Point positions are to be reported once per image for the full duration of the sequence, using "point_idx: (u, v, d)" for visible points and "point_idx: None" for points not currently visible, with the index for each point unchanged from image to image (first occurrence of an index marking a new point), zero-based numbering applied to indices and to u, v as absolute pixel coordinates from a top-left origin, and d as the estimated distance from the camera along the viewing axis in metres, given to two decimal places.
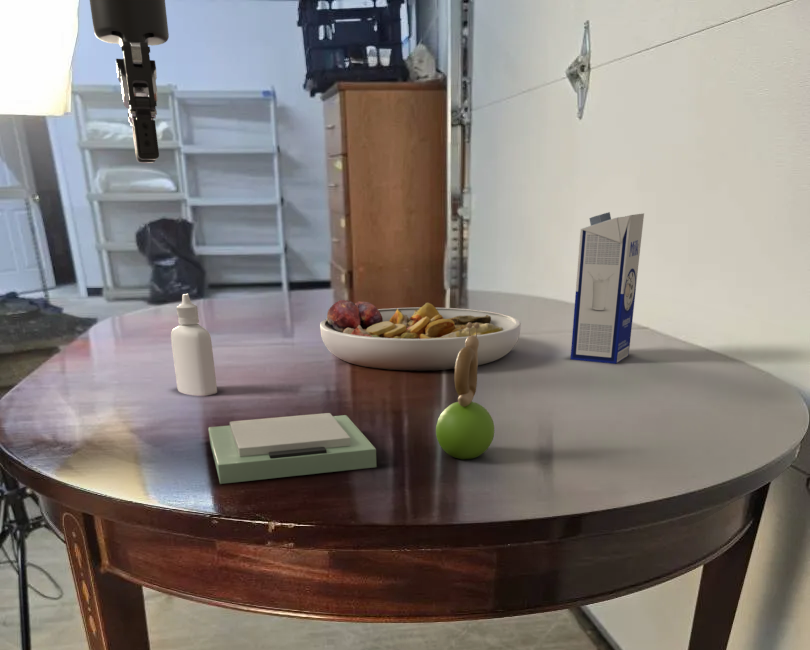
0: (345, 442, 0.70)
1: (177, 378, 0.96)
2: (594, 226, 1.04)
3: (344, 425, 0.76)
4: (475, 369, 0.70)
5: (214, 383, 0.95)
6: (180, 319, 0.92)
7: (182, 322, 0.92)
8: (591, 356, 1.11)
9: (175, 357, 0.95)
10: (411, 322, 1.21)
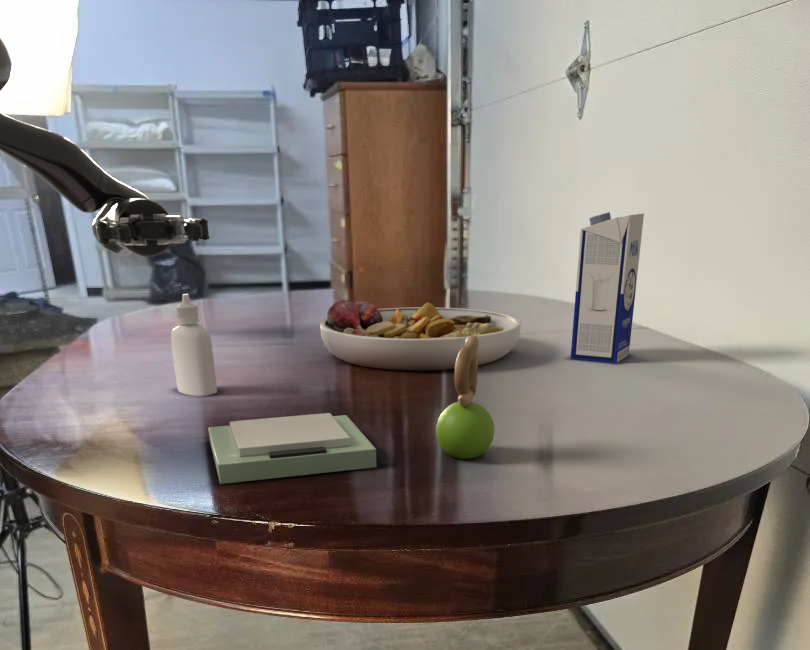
0: (345, 442, 0.70)
1: (177, 378, 0.96)
2: (594, 226, 1.04)
3: (344, 425, 0.76)
4: (475, 369, 0.70)
5: (214, 383, 0.95)
6: (180, 319, 0.92)
7: (182, 322, 0.92)
8: (591, 356, 1.11)
9: (175, 357, 0.95)
10: (411, 322, 1.21)
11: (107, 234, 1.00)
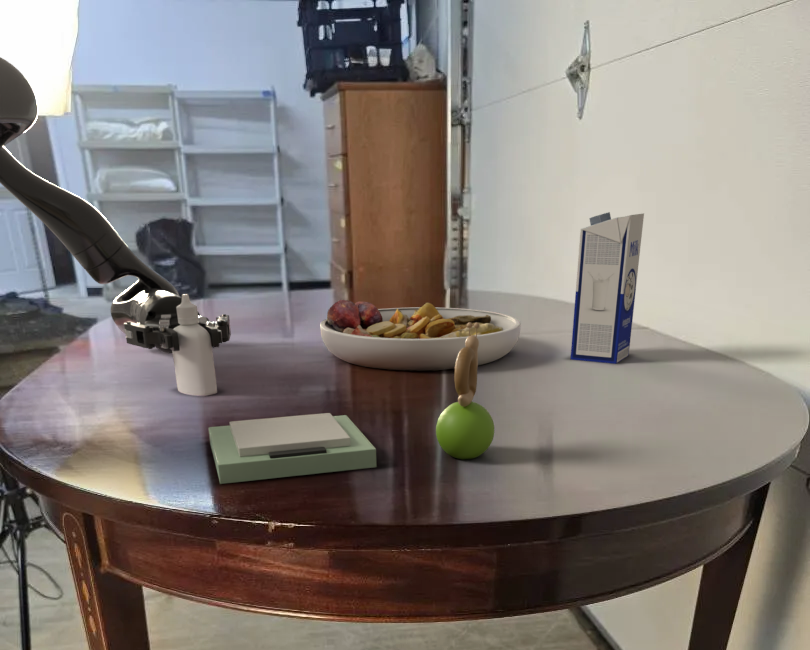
0: (345, 442, 0.70)
1: (177, 378, 0.96)
2: (594, 226, 1.04)
3: (344, 425, 0.76)
4: (475, 369, 0.70)
5: (214, 383, 0.95)
6: (180, 319, 0.92)
7: (182, 322, 0.92)
8: (591, 356, 1.11)
9: (175, 357, 0.95)
10: (411, 322, 1.21)
11: (153, 339, 0.94)
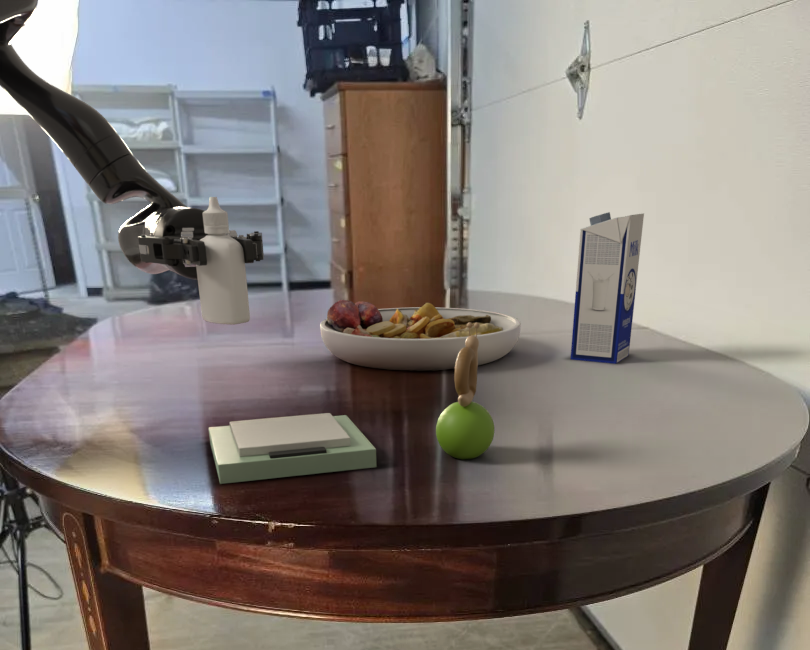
0: (345, 442, 0.70)
1: (202, 302, 0.80)
2: (594, 226, 1.04)
3: (344, 425, 0.76)
4: (475, 369, 0.70)
5: (247, 308, 0.79)
6: (207, 227, 0.76)
7: (209, 231, 0.76)
8: (591, 356, 1.11)
9: (200, 276, 0.79)
10: (411, 322, 1.21)
11: (174, 253, 0.78)
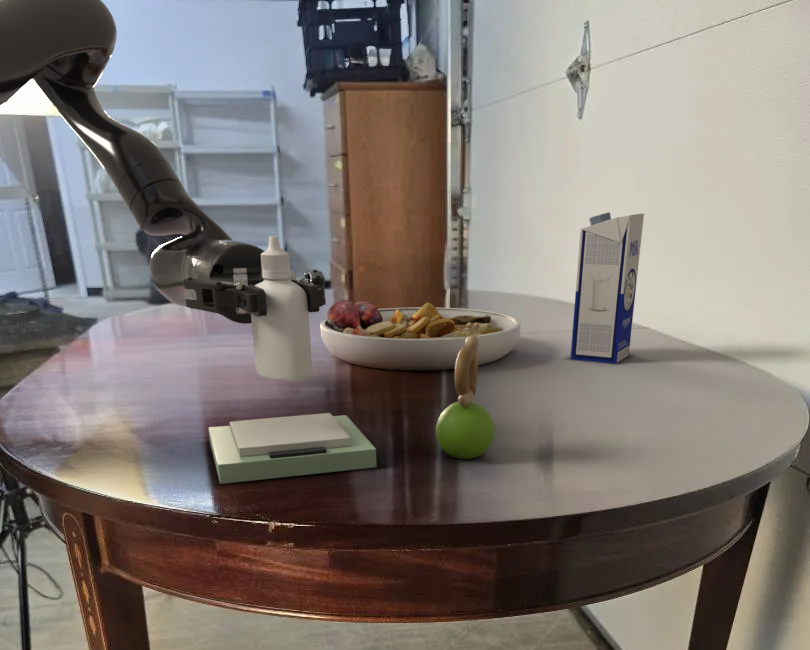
0: (345, 442, 0.70)
1: (257, 355, 0.70)
2: (594, 226, 1.04)
3: (344, 425, 0.76)
4: (475, 369, 0.70)
5: (309, 362, 0.69)
6: (266, 272, 0.66)
7: (269, 276, 0.66)
8: (591, 356, 1.11)
9: (256, 326, 0.69)
10: (411, 322, 1.21)
11: (226, 300, 0.67)
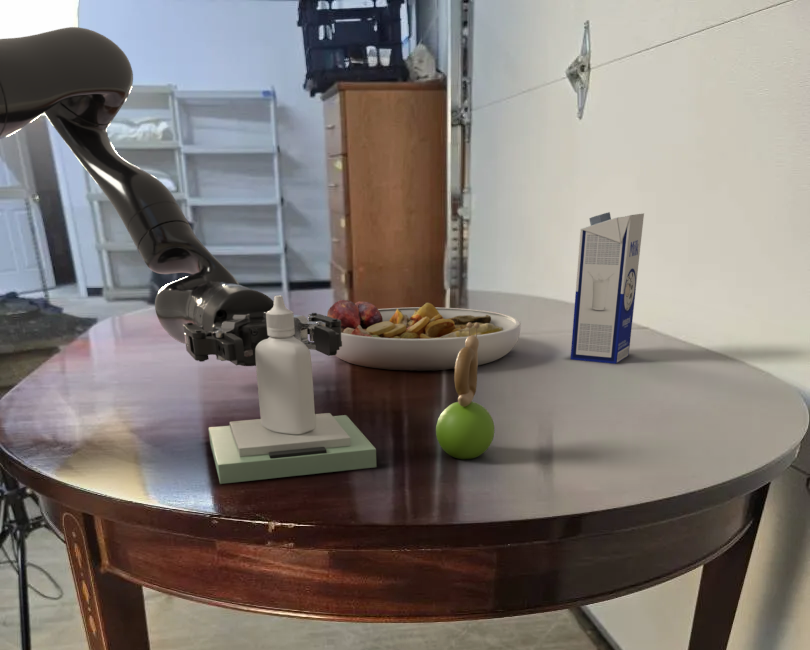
0: (345, 442, 0.70)
1: (262, 408, 0.72)
2: (594, 226, 1.04)
3: (344, 425, 0.76)
4: (475, 369, 0.70)
5: (313, 415, 0.71)
6: (271, 330, 0.68)
7: (273, 334, 0.68)
8: (591, 356, 1.11)
9: (261, 381, 0.71)
10: (411, 322, 1.21)
11: (206, 348, 0.69)
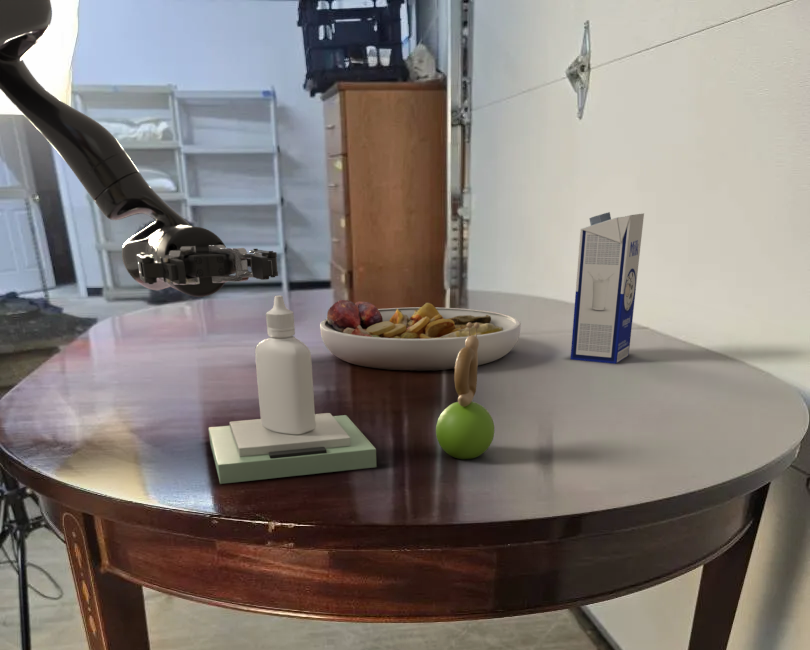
0: (345, 442, 0.70)
1: (262, 408, 0.72)
2: (594, 226, 1.04)
3: (344, 425, 0.76)
4: (475, 369, 0.70)
5: (313, 415, 0.71)
6: (271, 330, 0.68)
7: (274, 334, 0.68)
8: (591, 356, 1.11)
9: (261, 381, 0.71)
10: (411, 322, 1.21)
11: (154, 271, 0.79)
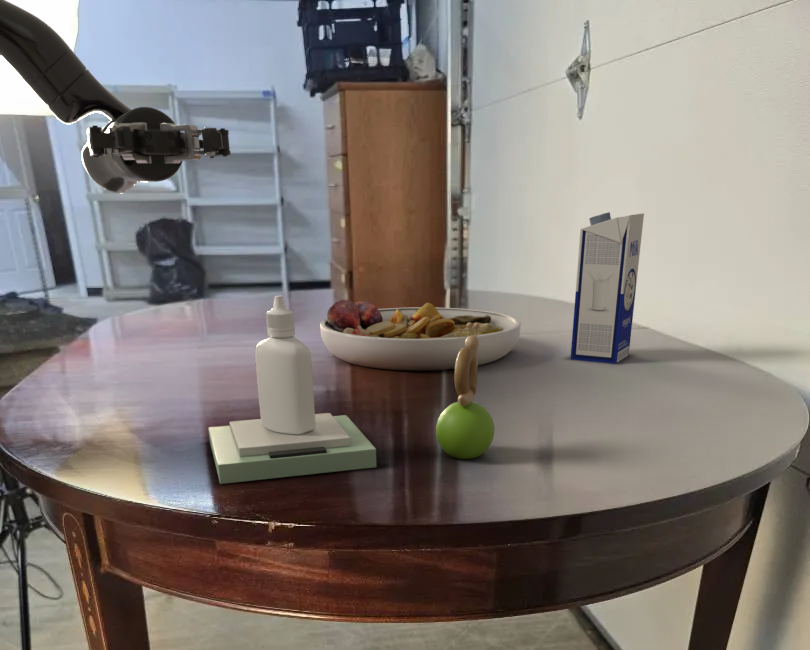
0: (345, 442, 0.70)
1: (262, 408, 0.72)
2: (594, 226, 1.04)
3: (344, 425, 0.76)
4: (475, 369, 0.70)
5: (313, 415, 0.71)
6: (271, 330, 0.68)
7: (274, 334, 0.68)
8: (591, 356, 1.11)
9: (261, 381, 0.71)
10: (411, 322, 1.21)
11: (102, 141, 0.78)
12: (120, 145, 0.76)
